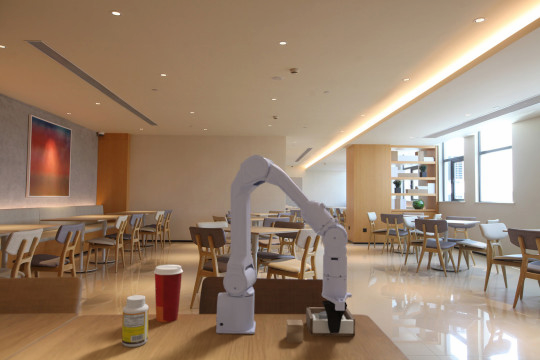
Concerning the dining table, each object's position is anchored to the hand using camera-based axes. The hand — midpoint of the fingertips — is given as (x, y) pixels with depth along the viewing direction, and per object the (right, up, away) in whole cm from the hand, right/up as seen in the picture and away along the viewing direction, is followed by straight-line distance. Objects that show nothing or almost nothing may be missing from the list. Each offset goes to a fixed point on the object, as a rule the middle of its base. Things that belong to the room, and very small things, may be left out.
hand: (334, 332), depth 89 cm
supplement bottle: (-46, -1, -5) cm, 46 cm away
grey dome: (0, 0, +6) cm, 6 cm away
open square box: (0, -2, +6) cm, 6 cm away
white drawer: (0, -1, +5) cm, 5 cm away
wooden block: (-9, -1, -1) cm, 10 cm away
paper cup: (-43, -1, +11) cm, 45 cm away
